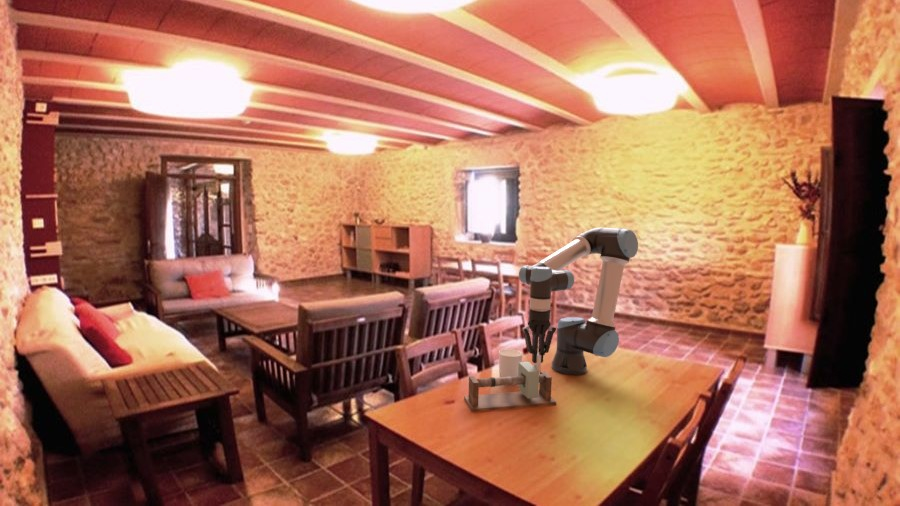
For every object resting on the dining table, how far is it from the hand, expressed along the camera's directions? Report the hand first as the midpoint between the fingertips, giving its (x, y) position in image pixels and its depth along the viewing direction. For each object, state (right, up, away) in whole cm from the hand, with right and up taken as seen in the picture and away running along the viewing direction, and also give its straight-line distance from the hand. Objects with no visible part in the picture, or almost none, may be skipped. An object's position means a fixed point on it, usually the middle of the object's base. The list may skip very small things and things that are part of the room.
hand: (537, 370), depth 166 cm
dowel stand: (-10, -11, -1) cm, 15 cm away
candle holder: (-8, -9, +19) cm, 22 cm away
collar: (-4, -8, 0) cm, 9 cm away
